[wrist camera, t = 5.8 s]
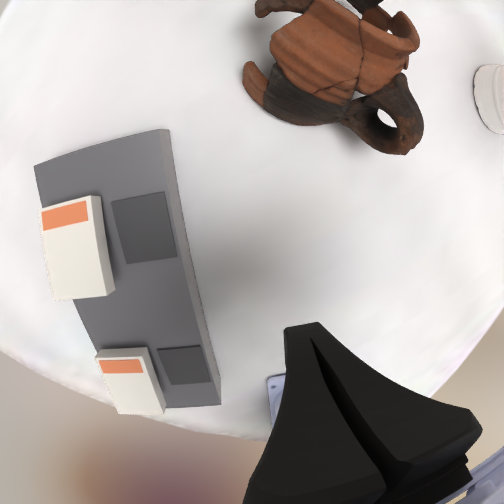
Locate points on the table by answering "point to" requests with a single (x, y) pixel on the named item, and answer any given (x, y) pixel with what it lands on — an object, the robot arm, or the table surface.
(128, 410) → the block
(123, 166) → the power strip
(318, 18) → the pottery mug
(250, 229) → the table surface
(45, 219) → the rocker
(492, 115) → the water bottle
